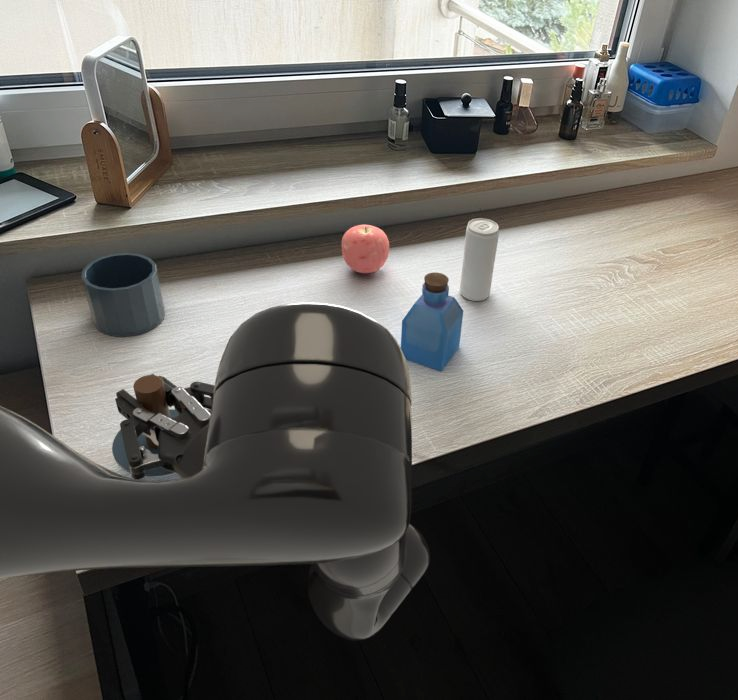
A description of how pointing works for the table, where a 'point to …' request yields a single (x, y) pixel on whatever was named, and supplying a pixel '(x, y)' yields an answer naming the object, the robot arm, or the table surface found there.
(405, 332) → the perfume bottle
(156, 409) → the lid
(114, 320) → the pot
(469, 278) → the beverage can
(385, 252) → the apple
